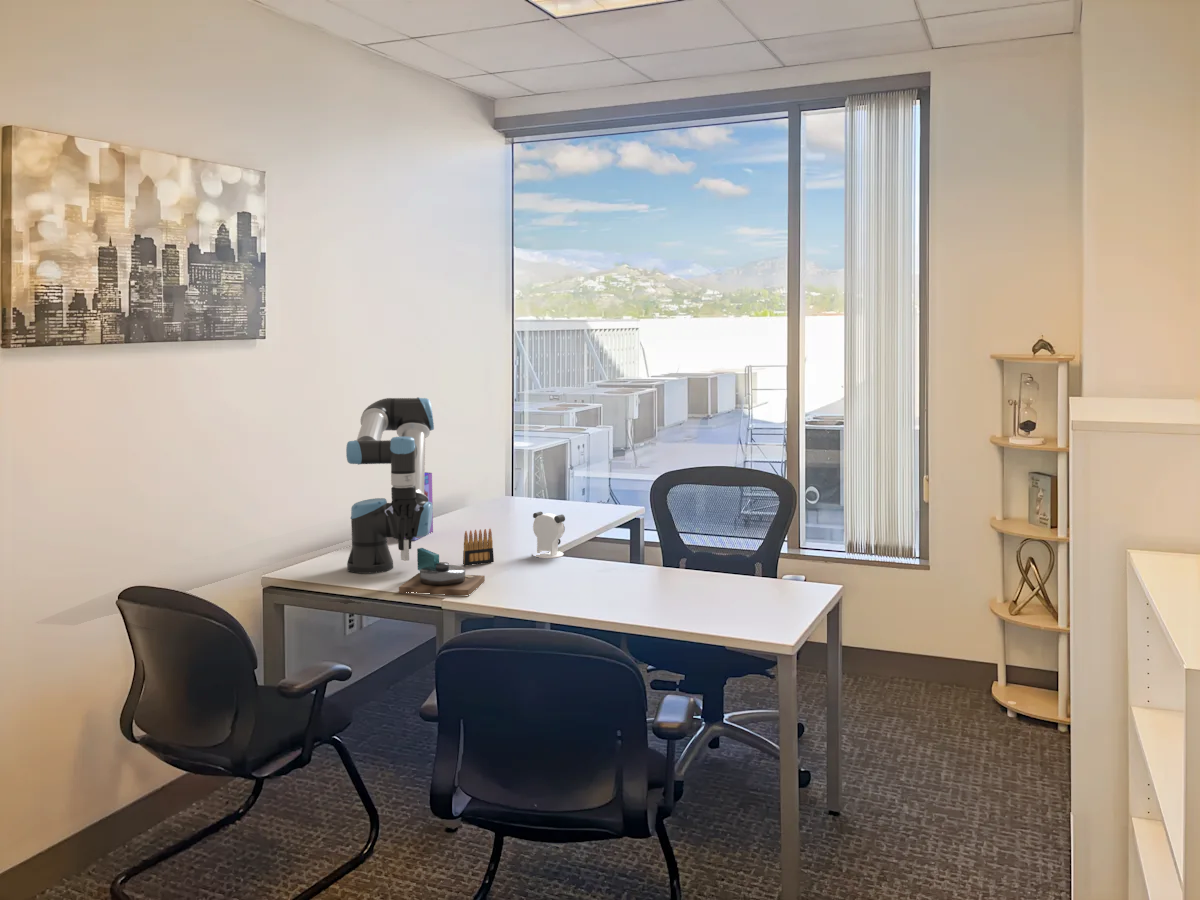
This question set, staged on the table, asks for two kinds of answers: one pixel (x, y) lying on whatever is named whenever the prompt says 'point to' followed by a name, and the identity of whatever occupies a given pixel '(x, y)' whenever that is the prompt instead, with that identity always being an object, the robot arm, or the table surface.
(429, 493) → the cereal box
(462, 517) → the table surface
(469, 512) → the table surface
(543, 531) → the panda figurine
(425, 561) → the dial
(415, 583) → the stand
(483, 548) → the ammunition clip
